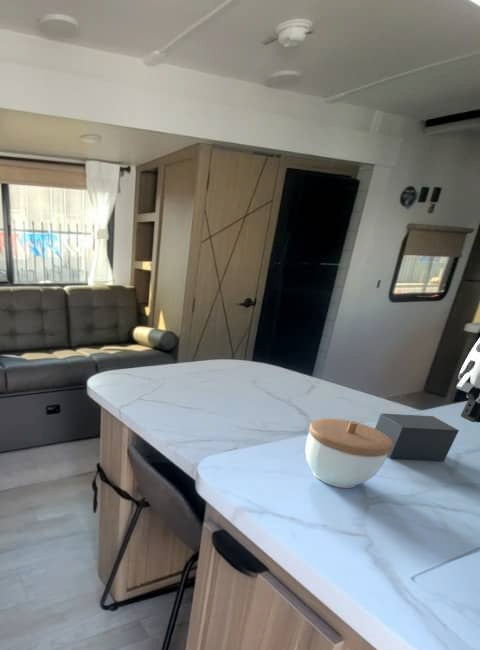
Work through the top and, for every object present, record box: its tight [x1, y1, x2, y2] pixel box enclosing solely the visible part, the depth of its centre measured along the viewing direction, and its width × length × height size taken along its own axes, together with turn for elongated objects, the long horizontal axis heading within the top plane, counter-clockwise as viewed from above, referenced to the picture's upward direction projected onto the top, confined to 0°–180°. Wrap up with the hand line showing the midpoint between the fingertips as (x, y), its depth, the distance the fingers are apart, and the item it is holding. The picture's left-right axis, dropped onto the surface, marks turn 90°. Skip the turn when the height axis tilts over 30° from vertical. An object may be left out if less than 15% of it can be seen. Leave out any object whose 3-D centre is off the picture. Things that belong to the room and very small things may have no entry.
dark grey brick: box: [374, 412, 460, 462], centre depth 83 cm, size 11×7×7 cm, turn 89°
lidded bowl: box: [304, 417, 393, 489], centre depth 72 cm, size 13×13×11 cm
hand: (470, 419), depth 81 cm, fingers closed
